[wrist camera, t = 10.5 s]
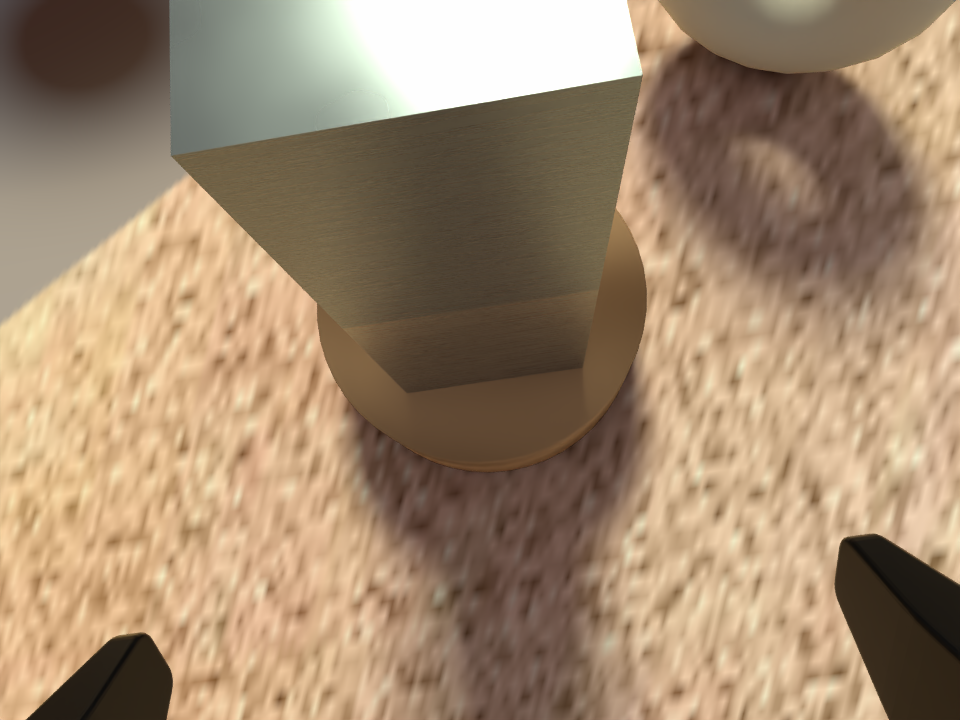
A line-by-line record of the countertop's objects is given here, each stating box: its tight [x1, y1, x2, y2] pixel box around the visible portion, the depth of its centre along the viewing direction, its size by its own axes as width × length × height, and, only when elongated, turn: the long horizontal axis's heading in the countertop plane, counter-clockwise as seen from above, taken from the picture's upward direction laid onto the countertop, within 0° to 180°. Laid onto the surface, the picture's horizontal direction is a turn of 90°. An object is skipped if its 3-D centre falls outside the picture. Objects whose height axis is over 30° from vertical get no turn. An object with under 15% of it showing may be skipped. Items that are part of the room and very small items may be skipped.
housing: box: [170, 0, 643, 393], centre depth 14 cm, size 5×5×13 cm
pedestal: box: [317, 208, 647, 472], centre depth 22 cm, size 10×10×4 cm
